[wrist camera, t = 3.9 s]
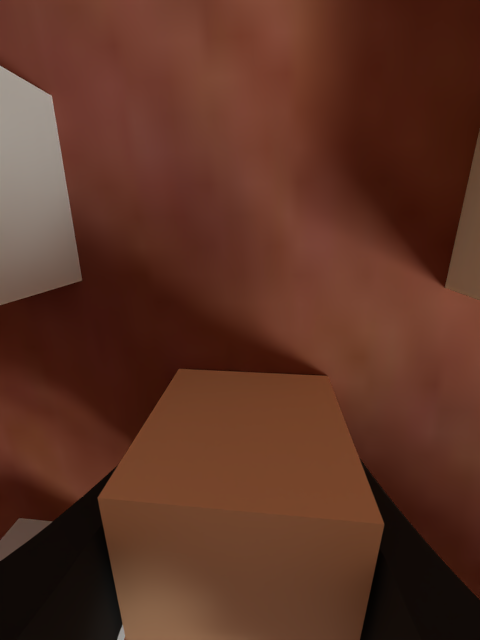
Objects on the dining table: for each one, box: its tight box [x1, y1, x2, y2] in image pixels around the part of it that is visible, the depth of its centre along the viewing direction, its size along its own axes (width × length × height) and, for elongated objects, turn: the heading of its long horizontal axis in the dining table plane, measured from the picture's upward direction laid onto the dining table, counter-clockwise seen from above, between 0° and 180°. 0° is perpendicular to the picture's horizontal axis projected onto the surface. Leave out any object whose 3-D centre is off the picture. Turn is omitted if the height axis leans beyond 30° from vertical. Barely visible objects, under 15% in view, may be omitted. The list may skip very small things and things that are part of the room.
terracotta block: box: [98, 369, 384, 640], centre depth 8 cm, size 5×5×5 cm
